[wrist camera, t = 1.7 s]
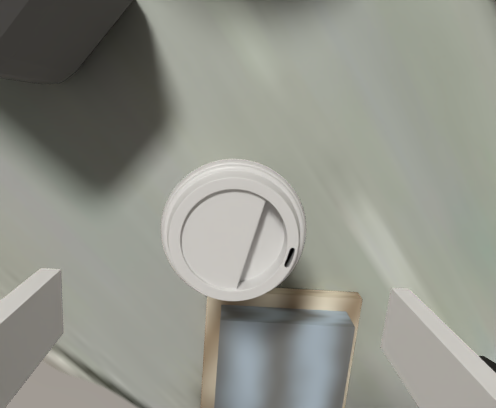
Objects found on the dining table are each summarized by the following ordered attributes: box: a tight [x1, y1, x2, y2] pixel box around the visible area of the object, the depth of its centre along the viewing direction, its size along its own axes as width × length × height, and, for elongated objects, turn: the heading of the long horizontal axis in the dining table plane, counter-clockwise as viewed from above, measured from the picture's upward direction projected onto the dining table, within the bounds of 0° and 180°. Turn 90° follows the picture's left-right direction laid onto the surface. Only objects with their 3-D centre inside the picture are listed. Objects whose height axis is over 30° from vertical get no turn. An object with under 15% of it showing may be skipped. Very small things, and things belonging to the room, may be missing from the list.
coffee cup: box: [161, 159, 306, 301], centre depth 30 cm, size 10×10×15 cm
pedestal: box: [200, 288, 362, 408], centre depth 39 cm, size 16×16×4 cm
